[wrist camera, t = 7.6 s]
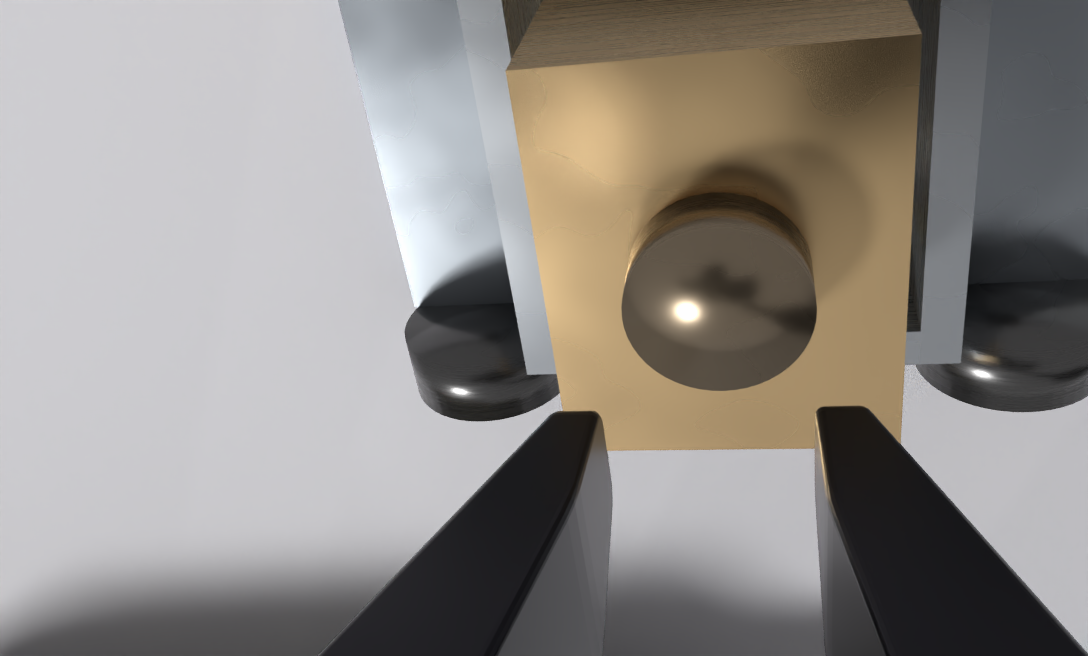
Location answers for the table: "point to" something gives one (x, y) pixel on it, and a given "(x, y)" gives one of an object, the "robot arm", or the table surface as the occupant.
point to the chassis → (937, 222)
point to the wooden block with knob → (721, 211)
